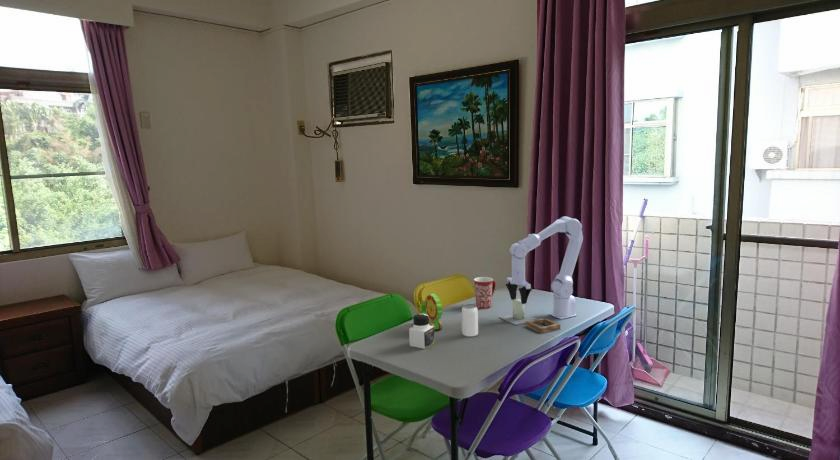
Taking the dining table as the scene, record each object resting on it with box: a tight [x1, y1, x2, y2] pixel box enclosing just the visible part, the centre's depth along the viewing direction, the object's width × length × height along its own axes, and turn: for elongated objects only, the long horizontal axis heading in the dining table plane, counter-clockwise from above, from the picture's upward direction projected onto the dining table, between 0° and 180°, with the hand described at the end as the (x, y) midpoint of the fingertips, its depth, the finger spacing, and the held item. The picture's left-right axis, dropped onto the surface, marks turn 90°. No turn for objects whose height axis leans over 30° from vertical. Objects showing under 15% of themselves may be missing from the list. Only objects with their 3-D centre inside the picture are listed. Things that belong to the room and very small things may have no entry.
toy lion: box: [420, 293, 444, 331], centre depth 220 cm, size 16×6×15 cm, turn 27°
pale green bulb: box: [512, 298, 525, 320], centre depth 228 cm, size 5×5×8 cm
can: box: [461, 303, 479, 338], centre depth 211 cm, size 6×6×12 cm
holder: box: [525, 317, 561, 334], centre depth 217 cm, size 10×10×2 cm
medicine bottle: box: [408, 313, 435, 350], centre depth 201 cm, size 7×7×12 cm
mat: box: [498, 313, 537, 326], centre depth 228 cm, size 12×12×1 cm
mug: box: [473, 276, 496, 310], centre depth 248 cm, size 13×9×14 cm
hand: (518, 301), depth 227 cm, fingers open, 7 cm apart
